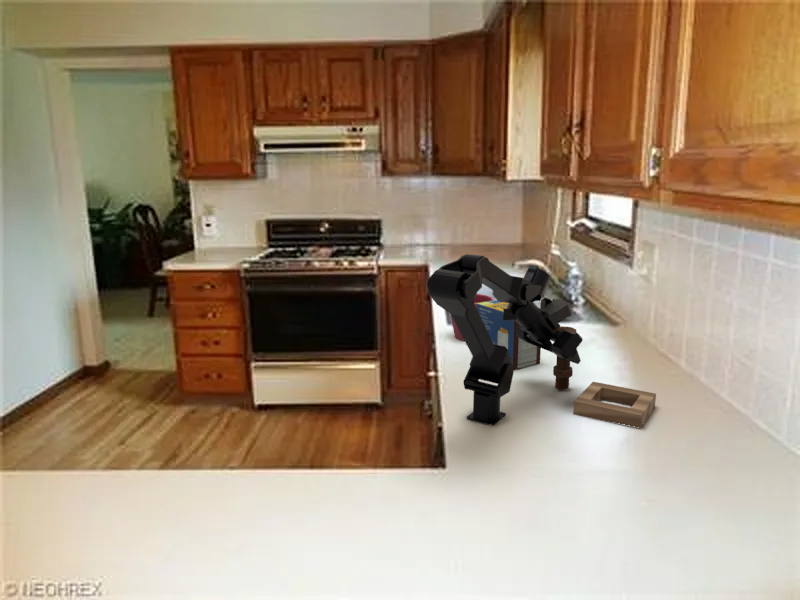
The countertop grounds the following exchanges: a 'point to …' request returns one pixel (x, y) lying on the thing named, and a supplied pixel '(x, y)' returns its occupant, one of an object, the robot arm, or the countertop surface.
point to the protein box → (507, 334)
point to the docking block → (633, 416)
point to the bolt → (562, 367)
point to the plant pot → (478, 299)
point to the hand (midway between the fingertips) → (566, 356)
